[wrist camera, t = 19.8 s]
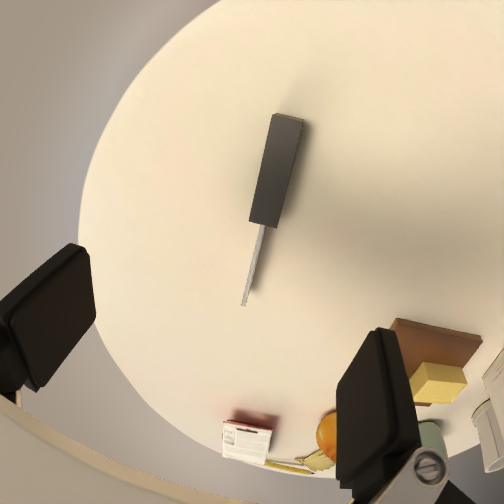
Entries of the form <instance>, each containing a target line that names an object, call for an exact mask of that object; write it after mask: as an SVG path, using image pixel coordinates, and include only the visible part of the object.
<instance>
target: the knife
mask: <svg viewBox="0 0 504 504" xmlns="http://www.w3.org/2000/svg"><path fill="white" fill-rule="evenodd" d="M303 123H304V120H303V119H299V118H296V117H292V116H287V115H283V114H279V113H276V114H273V115H272V118H271V123H270V127H269V132H268V136H267V141H266V145H265V149H264V154H263V158H262V163H261V167H260V172H259V176H258V181H257V185H256V190H255V194H254V199H253V203H252V208H251V213H250V217H249V222H253V223H257V224H260V228H259V232H258V237H257V241H256V245H255V249H254V253H253V258H252V262H251V266H250V270H249V274H248V279H247V283H246V287H245V291H244V295H243V300H242V304H241V306H245V305H246V302H247V298H248V295H249V292H250V288H251V284H252V280H253V276H254V272H255V268H256V264H257V260H258V256H259V252H260V248H261V244H262V240H263V236H264V232H265V228H266V226H269V227H273V228H277V225H278V221H279V218H280V214H281V210H282V206H283V202H284V198H285V195H286V191H287V187H288V183H289V179H290V175H291V171H292V167H293V163H294V159H295V155H296V151H297V148H298V144H299V140H300V136H301V132H302V127H303Z"/></svg>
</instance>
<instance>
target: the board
mask: <svg viewBox="0 0 504 504" xmlns="http://www.w3.org/2000/svg"><path fill="white" fill-rule="evenodd" d="M390 330H394V331H395V332H396V335H397V338H398V342H399V346H400V349H401V353H402V357H403V361H404V365H405V369H406V374H407V376H408V378H409V379H410V378H411V377H412V375H413V374H414V373H415V372H416V370H417V369H418V368H419V366H420V365H421V364H422V362H429V363H435V364H442V365H449V366H457V367H461V368H463V367H464V366H465V365H466V363H467V362H468V361H469V360H470V358H471V357H472V356H473V354H474V353H475V352H476V350H477V349H478V348H479V346H480V345H481V344H482V342H483V341H482V339H481V337H480V336H478V335H473V334H468V333H463V332H458V331H454V330H449V329H444V328H439V327H435V326H430V325H426V324H421V323H416V322H412V321H407V320H403V319H399V318H396V319H395V321H394V323H393V325H392V326H391V328H390ZM431 404H432V403H425V402H414V405H415V406H428V407H429V406H430V405H431Z"/></svg>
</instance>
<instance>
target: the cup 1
mask: <svg viewBox="0 0 504 504" xmlns="http://www.w3.org/2000/svg"><path fill="white" fill-rule="evenodd" d="M418 425H419V431H420V436H421V442H422V447H423V446H431V447H435V448H437V449H439V450H441V451H442V452H443V453H444V454H445V456H446V457H447V459H448V454H447V449H446V445H445V441H444V438H443V435H442V432H441V430H440V428H439V427H438V426H437V425H436V424H435V423H432V422H423V423H419V424H418ZM448 461H449V460H448Z"/></svg>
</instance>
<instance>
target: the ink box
mask: <svg viewBox="0 0 504 504" xmlns="http://www.w3.org/2000/svg"><path fill="white" fill-rule="evenodd" d="M272 431H273V430H272V428H267V427H260V426H254V425H249V424H243V423H238V422H233V421H229V420H227V422H225V421H223V434H222V456H223V457H225V458H229V459H234V460H239V461H244V462H249V463H255V464H262V465H264V464H265V461H266V457H267V453H268V450H269V446H270V441H271V436H272Z"/></svg>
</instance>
